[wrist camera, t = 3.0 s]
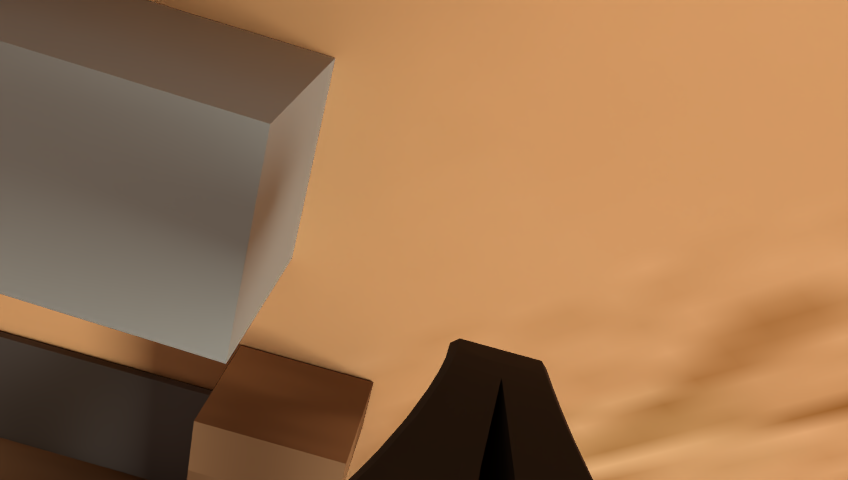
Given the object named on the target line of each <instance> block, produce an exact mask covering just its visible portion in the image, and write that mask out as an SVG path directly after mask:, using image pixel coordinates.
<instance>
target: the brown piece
mask: <svg viewBox="0 0 848 480" xmlns="http://www.w3.org/2000/svg"><path fill="white" fill-rule="evenodd" d="M372 386H373V382H370V381H367V380H363V379H359V378H356V377H352V376H349V375H345V374H342V373H338V372H334V371H331V370H327V369H324V368H320V367H316V366H313V365H309V364H306V363H302V362H299V361H295V360H291V359H288V358H284V357H281V356H277V355H273V354H270V353H266V352H263V351H259V350H255V349H252V348H248V347H245V346H240V347H239V349H238V351H237V352H236V354H235V355H234V357H233V359H232V360H231V362H230V363H229V365H228V367H227V368H226V370H225V372H224V373H223V375H222V376H221V378H220V380H219V381H218V383H217V384H216V386H215V388H214V389H213V391H211V390H207V389H204V388H200V387H197V386H193V385H190V384H186V383H182V382H179V381H175V380H172V379H168V378H165V377H161V376H157V375H154V374H150V373H147V372H143V371H140V370H136V369H132V368H129V367H125V366H122V365H118V364H115V363H111V362H108V361H104V360H100V359H97V358H93V357H90V356H86V355H83V354H79V353H75V352H72V351H68V350H65V349H61V348H58V347H54V346H50V345H47V344H43V343H40V342H36V341H33V340H29V339H26V338H22V337H18V336H15V335H11V334H8V333H4V332H1V331H0V480H345V478H346V475H347V472H348V469H349V466H350V463H351V460H352V457H353V454H354V451H355V448H356V445H357V442H358V439H359V435H360V432H361V429H362V426H363V422H364V418H365V414H366V410H367V406H368V402H369V398H370V394H371V390H372Z"/></svg>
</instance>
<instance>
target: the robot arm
mask: <svg viewBox="0 0 848 480" xmlns="http://www.w3.org/2000/svg"><path fill="white" fill-rule="evenodd" d="M349 480H593V479H592V477H591V475H590V473H589V471H588V468H587V466H586V464H585V462H584V460H583V458H582V456H581V454H580V451H579V449H578V447H577V445H576V443H575V441H574V438H573V436H572V434H571V432H570V429H569V427H568V425H567V422H566V420H565V417H564V415H563V412H562V410H561V408H560V405H559V402H558V400H557V397H556V395H555V392H554V389H553V387H552V384H551V381H550V378H549V375H548V373H547V370H546V368H545V366H544V364H543V363H542V361H540V360H536V359H532V358H529V357H525V356H521V355H518V354H514V353H511V352H507V351H503V350H500V349H496V348H492V347H489V346H485V345H481V344H478V343H474V342H471V341H467V340H463V339H458V340H455V341H453V342H451V343H450V345H449V349H448V352H447V355H446V358H445V360H444V362H443V364H442V366H441V368H440V370H439V372H438V374H437V375H436V377H435V378H434V380H433V382H432V383H431V385H430V386H429V388H428V389H427V391H426V392H425V393H424V395H423V396H422V398H421V399H420V400H419V402H418V403H417V404H416V406H415V407H414V408H413V410H412V411H411V413H410V414H409V415H408V416H407V418H406V419H405V420H404V421H403V423H402V424H401V425H400V426H399V427H398V428H397V429H396V431H395V432H394V433H393V434H392V435H391V436H390V437H389V439H388V440H387V441H386V442H385V443H384V444H383V445H382V447H381V448H380V449H379V450H378V451H377V452H376V453H375V454H374V455H373V456H372V457H371V458H370V459H369V460H368V461H367V462H366V463H365V464H364V465H363V466H362V467H361V468H360V469H359V470H358V471H357V472H356V473H355V474H354V475H353V476H352V477H351V478H350V479H349Z"/></svg>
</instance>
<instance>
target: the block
mask: <svg viewBox="0 0 848 480" xmlns="http://www.w3.org/2000/svg"><path fill="white" fill-rule="evenodd" d="M334 62H335V58H334V57H330V56H327V55H324V54H321V53H317V52H314V51H311V50H308V49H304V48H301V47H298V46H294V45H291V44H288V43H285V42H281V41H278V40H275V39H272V38H268V37H265V36H262V35H259V34H255V33H252V32H249V31H246V30H242V29H239V28H236V27H233V26H229V25H226V24H223V23H220V22H216V21H213V20H210V19H207V18H203V17H200V16H197V15H194V14H190V13H187V12H184V11H181V10H177V9H174V8H171V7H168V6H164V5H161V4H158V3H155V2H151V1H148V0H0V294H3V295H6V296H9V297H12V298H16V299H19V300H22V301H25V302H28V303H32V304H35V305H38V306H41V307H45V308H48V309H51V310H54V311H57V312H61V313H64V314H67V315H70V316H74V317H77V318H80V319H83V320H86V321H90V322H93V323H96V324H99V325H103V326H106V327H109V328H112V329H115V330H119V331H122V332H125V333H128V334H131V335H135V336H138V337H141V338H144V339H148V340H151V341H154V342H157V343H160V344H164V345H167V346H170V347H173V348H177V349H180V350H183V351H186V352H189V353H193V354H196V355H199V356H202V357H205V358H209V359H212V360H215V361H218V362H222V363H225V364H226V363H227V361H228V360H229V358H230V357H231V355H232V353H233V352H234V350H235V349H236V347H237V345H238V344H239V342H240V341H241V339H242V337H243V336H244V334H245V333H246V331H247V329H248V328H249V326H250V325H251V323H252V321H253V320H254V318H255V317H256V315H257V313H258V312H259V310H260V309H261V307H262V305H263V304H264V302H265V301H266V299H267V297H268V296H269V294H270V293H271V291H272V289H273V288H274V286H275V284H276V283H277V281H278V280H279V278H280V276H281V275H282V273H283V272H284V270H285V268H286V267H287V265H288V264H289V262H290V260H291V259H292V256H293V251H294V246H295V242H296V237H297V232H298V228H299V223H300V219H301V214H302V209H303V205H304V200H305V196H306V191H307V186H308V182H309V177H310V173H311V168H312V163H313V159H314V154H315V149H316V145H317V140H318V136H319V131H320V126H321V122H322V117H323V113H324V108H325V103H326V99H327V94H328V90H329V85H330V80H331V76H332V71H333V67H334Z"/></svg>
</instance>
